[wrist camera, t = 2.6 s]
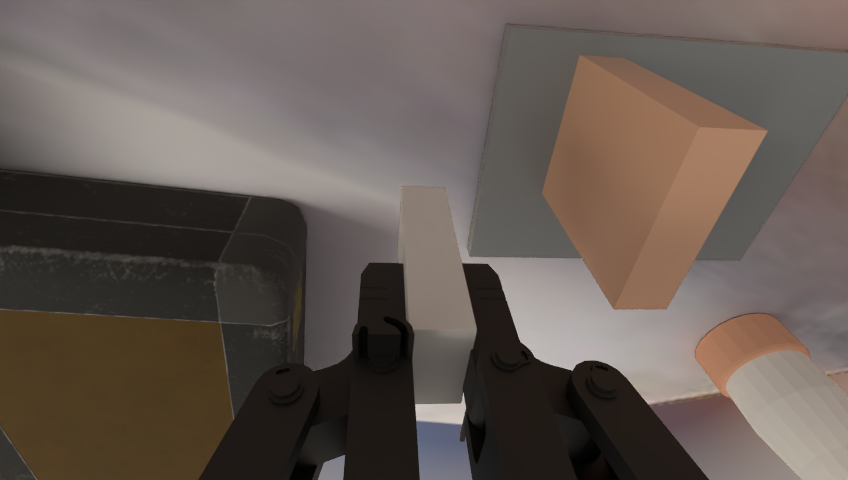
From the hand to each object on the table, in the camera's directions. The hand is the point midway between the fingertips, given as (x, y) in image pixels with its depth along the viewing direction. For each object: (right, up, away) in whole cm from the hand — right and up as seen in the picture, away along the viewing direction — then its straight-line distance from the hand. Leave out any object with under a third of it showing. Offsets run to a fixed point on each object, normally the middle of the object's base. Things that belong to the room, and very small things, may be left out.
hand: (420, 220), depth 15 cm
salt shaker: (+28, -10, +23) cm, 38 cm away
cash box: (-19, -7, +17) cm, 26 cm away
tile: (+9, +5, +9) cm, 14 cm away
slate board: (+14, +4, +11) cm, 18 cm away
